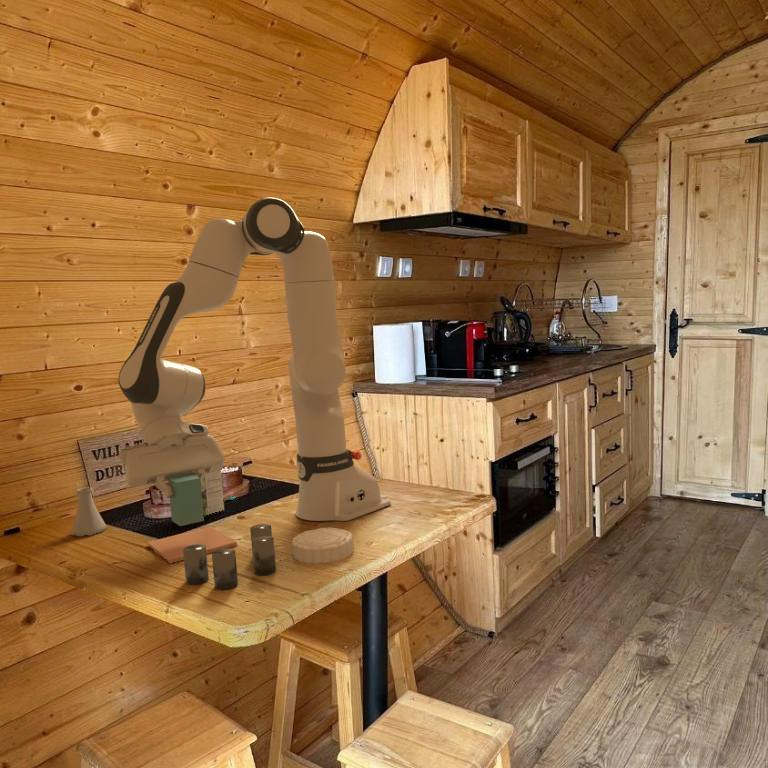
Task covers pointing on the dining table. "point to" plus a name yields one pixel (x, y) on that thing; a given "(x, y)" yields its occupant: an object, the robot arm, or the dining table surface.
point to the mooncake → (322, 545)
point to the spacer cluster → (230, 560)
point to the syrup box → (212, 493)
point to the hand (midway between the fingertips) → (186, 493)
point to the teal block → (186, 499)
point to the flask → (87, 515)
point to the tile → (191, 543)
